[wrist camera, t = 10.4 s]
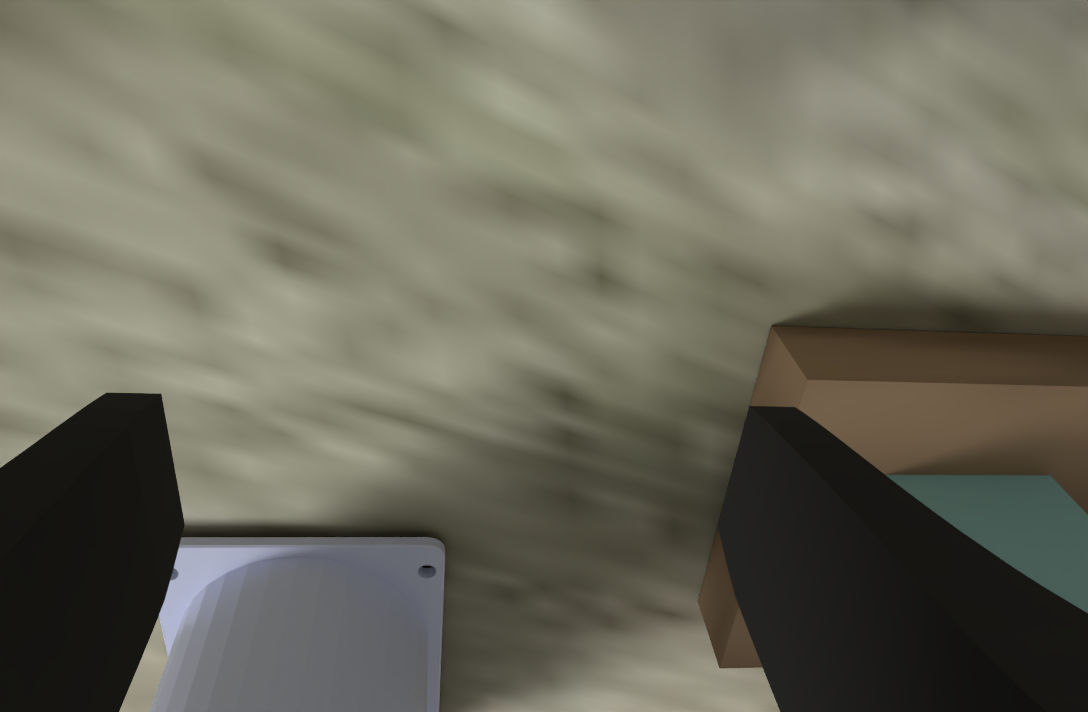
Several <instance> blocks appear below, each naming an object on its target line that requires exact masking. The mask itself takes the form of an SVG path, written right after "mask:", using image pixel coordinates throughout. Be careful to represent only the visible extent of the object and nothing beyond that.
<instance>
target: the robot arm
mask: <svg viewBox="0 0 1088 712" xmlns="http://www.w3.org/2000/svg"><path fill="white" fill-rule="evenodd" d="M184 525H185V524H184V519H183V513H182V508H181V502H180V496H179V491H178V485H177V480H176V474H175V469H174V463H173V457H172V452H171V446H170V441H169V435H168V429H167V424H166V418H165V413H164V407H163V402H162V396H161V394H143V393H105V394H104V395H102V396H101V397H99V398H98V399H96V400H95V401H93V402H91V403H90V404H89V405H87V406H86V407H84V408H83V409H81V410H80V411H79V412H77V413H76V414H74V415H73V416H72V417H70V418H69V419H67V420H66V421H65V422H63V423H62V424H60V425H59V426H58V427H56V428H55V429H54V430H52V431H51V432H50V433H48V434H47V435H45V436H44V437H43V438H41V439H40V440H39V441H37V442H36V443H34V444H33V445H32V446H30V447H29V448H28V449H26V450H25V451H23V452H22V453H21V454H19V455H18V456H16V457H15V458H14V459H12V460H11V461H9V462H8V463H7V464H5V465H4V466H2V467H1V468H0V712H119V710H120V708H121V706H122V703H123V701H124V698H125V696H126V694H127V691H128V689H129V686H130V684H131V682H132V679H133V677H134V674H135V672H136V670H137V667H138V665H139V663H140V660H141V658H142V655H143V653H144V650H145V648H146V645H147V643H148V641H149V638H150V636H151V633H152V631H153V628H154V626H155V623H156V621H157V618H158V616H159V618H160V622H161V627H162V632H163V636H164V641H165V645H166V650H167V655H168V659H167V662H166V665H165V668H164V671H163V673H162V676H161V679H160V682H159V685H158V688H157V691H156V693H155V696H154V699H153V702H152V705H151V708H150V711H149V712H439V701H440V676H441V651H442V625H443V600H444V575H445V547H444V545H443V543H442V542H441V541H439V540H437V539H435V538H430V537H182V533H183V529H184ZM718 529H719V533H720V538H721V542H722V546H723V551H724V555H725V559H726V564H727V567H728V571H729V575H730V579H731V583H732V587H733V590H734V594H735V597H736V600H737V602H738V605H739V608H740V610H741V613H742V616H743V618H744V621H745V623H746V626H747V629H748V631H749V634H750V636H751V639H752V641H753V644H754V647H755V649H756V652H757V654H758V657H759V659H760V662H761V664H762V667H763V669H764V672H765V674H766V677H767V679H768V682H769V684H770V687H771V689H772V692H773V694H774V697H775V699H776V702H777V704H778V707H779V709H780V712H1088V613H1087V612H1085V611H1083V610H1082V609H1080V608H1078V607H1077V606H1075V605H1073V604H1072V603H1070V602H1068V601H1067V600H1065V599H1063V598H1062V597H1060V596H1058V595H1057V594H1055V593H1053V592H1052V591H1050V590H1048V589H1047V588H1045V587H1043V586H1042V585H1040V584H1039V583H1037V582H1035V581H1034V580H1032V579H1031V578H1029V577H1028V576H1026V575H1025V574H1023V573H1021V572H1020V571H1018V570H1017V569H1015V568H1014V567H1012V566H1011V565H1009V564H1008V563H1006V562H1005V561H1003V560H1002V559H1000V558H999V557H998V556H996V555H995V554H993V553H992V552H990V551H989V550H987V549H986V548H984V547H983V546H982V545H980V544H979V543H977V542H976V541H974V540H973V539H971V538H970V537H968V536H967V535H966V534H964V533H963V532H961V531H960V530H958V529H957V528H956V527H954V526H953V525H952V524H950V523H949V522H947V521H946V520H945V519H943V518H942V517H941V516H939V515H938V514H936V513H935V512H934V511H932V510H931V509H930V508H928V507H927V506H926V505H924V504H923V503H922V502H920V501H919V500H918V499H916V498H915V497H914V496H912V495H911V494H910V493H908V492H907V491H906V490H904V489H903V488H902V487H900V486H899V485H898V484H897V483H895V482H894V481H893V480H891V479H890V478H889V477H887V476H886V475H885V474H884V473H882V472H881V471H880V470H878V469H877V468H876V467H875V466H873V465H872V464H871V463H869V462H868V461H867V460H866V459H864V458H863V457H862V456H860V455H859V454H858V453H857V452H855V451H854V450H853V449H851V448H850V447H849V446H848V445H846V444H845V443H844V442H842V441H841V440H840V439H839V438H837V437H836V436H835V435H833V434H832V433H831V432H829V431H828V430H827V429H826V428H824V427H823V426H821V425H820V424H819V423H817V422H816V421H815V420H813V419H812V418H811V417H809V416H808V415H806V414H805V413H803V412H802V411H800V410H799V409H797V408H796V407H776V406H749V410H748V413H747V417H746V421H745V425H744V428H743V432H742V436H741V440H740V444H739V447H738V451H737V455H736V459H735V462H734V466H733V470H732V474H731V477H730V481H729V485H728V489H727V492H726V496H725V500H724V504H723V507H722V511H721V515H720V519H719V522H718ZM425 565H430V566H433V567H431V568H423V567H422V566H425ZM173 569H175V570H173Z"/></svg>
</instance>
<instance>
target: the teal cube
mask: <svg viewBox="0 0 1088 712" xmlns="http://www.w3.org/2000/svg"><path fill="white" fill-rule="evenodd" d="M886 476H887V477H889V478H890V479H891V480H893V481H894V482H895V483H897V484H898V485H899V486H900V487H902V488H903V489H904V490H906V491H907V492H908V493H910V494H911V495H912V496H914V497H915V498H916V499H918V500H919V501H920V502H922V503H923V504H924V505H926V506H927V507H928V508H930V509H931V510H932V511H934V512H935V513H936V514H938V515H939V516H941V517H942V518H943V519H945V520H946V521H947V522H949V523H950V524H952V525H953V526H954V527H956V528H957V529H958V530H960V531H961V532H963V533H964V534H966V535H967V536H968V537H970V538H971V539H973V540H974V541H976V542H977V543H979V544H980V545H982V546H983V547H984V548H986V549H987V550H989V551H990V552H992V553H993V554H995V555H996V556H998V557H999V558H1000V559H1002V560H1003V561H1005V562H1006V563H1008V564H1009V565H1011V566H1012V567H1014V568H1015V569H1017V570H1018V571H1020V572H1021V573H1023V574H1025V575H1026V576H1028V577H1029V578H1031V579H1032V580H1034V581H1035V582H1037V583H1039V584H1040V585H1042V586H1043V587H1045V588H1047V589H1048V590H1050V591H1052V592H1053V593H1055V594H1057V595H1058V596H1060V597H1062V598H1063V599H1065V600H1067V601H1068V602H1070V603H1072V604H1073V605H1075V606H1077V607H1078V608H1080V609H1082V610H1083V611H1085V612H1087V613H1088V515H1087V514H1086V512H1085V511H1084V510H1083V509H1082V508H1081V507H1080V506H1079V505H1078V504H1077V503H1076V502H1075V501H1074V500H1073V499H1072V498H1071V497H1070V496H1069V495H1068V494H1067V493H1066V491H1065V490H1064V489H1063V488H1062V487H1061V486H1060V485H1059V484H1058V483H1057V482H1056V481H1055V480H1054V479H1053V478H1052V477H1051V476H1050V475H886Z"/></svg>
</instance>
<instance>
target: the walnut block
mask: <svg viewBox="0 0 1088 712" xmlns="http://www.w3.org/2000/svg"><path fill="white" fill-rule="evenodd" d="M750 406H776V407H796V408H797V409H799V410H800V411H802V412H803V413H805V414H806V415H808V416H809V417H811V418H812V419H813V420H815V421H816V422H817V423H819V424H820V425H821V426H823V427H824V428H826V429H827V430H828V431H829V432H831V433H832V434H833V435H835V436H836V437H837V438H839V439H840V440H841V441H842V442H844V443H845V444H846V445H848V446H849V447H850V448H851V449H853V450H854V451H855V452H857V453H858V454H859V455H860V456H862V457H863V458H864V459H866V460H867V461H868V462H869V463H871V464H872V465H873V466H875V467H876V468H877V469H878V470H880V471H881V472H882V473H884V474H885V475H1050V476H1051V477H1052V478H1053V479H1054V480H1055V481H1056V482H1057V483H1058V484H1059V485H1060V486H1061V487H1062V488H1063V489H1064V490H1065V491H1066V493H1067V494H1068V495H1069V496H1070V497H1071V498H1072V499H1073V500H1074V501H1075V502H1076V503H1077V504H1078V505H1079V506H1080V507H1081V508H1082V509H1083V510H1084V511H1085V512H1086V514H1087V515H1088V337H1087V336H1057V335H1028V334H998V333H968V332H939V331H909V330H879V329H850V328H820V327H790V326H771V329H770V333H769V337H768V340H767V344H766V348H765V352H764V355H763V359H762V363H761V367H760V370H759V374H758V378H757V382H756V385H755V389H754V393H753V397H752V400H751V404H750ZM698 603H699V606H700V610H701V613H702V616H703V619H704V622H705V625H706V628H707V631H708V634H709V637H710V640H711V643H712V646H713V649H714V652H715V655H716V658H717V662H718V665H719V668H754V667H762V664H761V662H760V659H759V657H758V654H757V652H756V649H755V647H754V644H753V641H752V639H751V636H750V634H749V631H748V629H747V626H746V623H745V621H744V618H743V616H742V613H741V610H740V608H739V605H738V602H737V600H736V597H735V594H734V590H733V587H732V583H731V579H730V575H729V571H728V567H727V564H726V559H725V555H724V551H723V546H722V542H721V538H720V533H719V529H718V528H717V532H716V536H715V539H714V543H713V547H712V551H711V554H710V558H709V562H708V566H707V569H706V573H705V577H704V581H703V584H702V588H701V592H700V596H699V599H698Z"/></svg>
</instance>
